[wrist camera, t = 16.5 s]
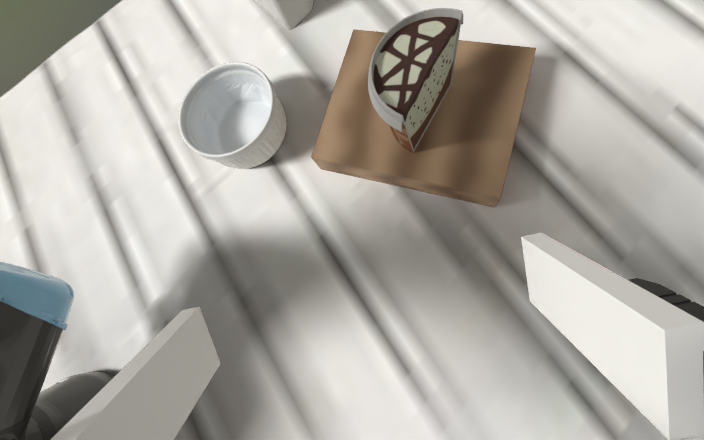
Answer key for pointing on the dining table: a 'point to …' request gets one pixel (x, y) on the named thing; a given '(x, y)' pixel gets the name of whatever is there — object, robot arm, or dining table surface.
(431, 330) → the dining table surface
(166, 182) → the dining table surface
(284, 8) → the white triangular vase
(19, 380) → the robot arm
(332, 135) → the walnut stand
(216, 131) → the ramekin
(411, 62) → the food container
